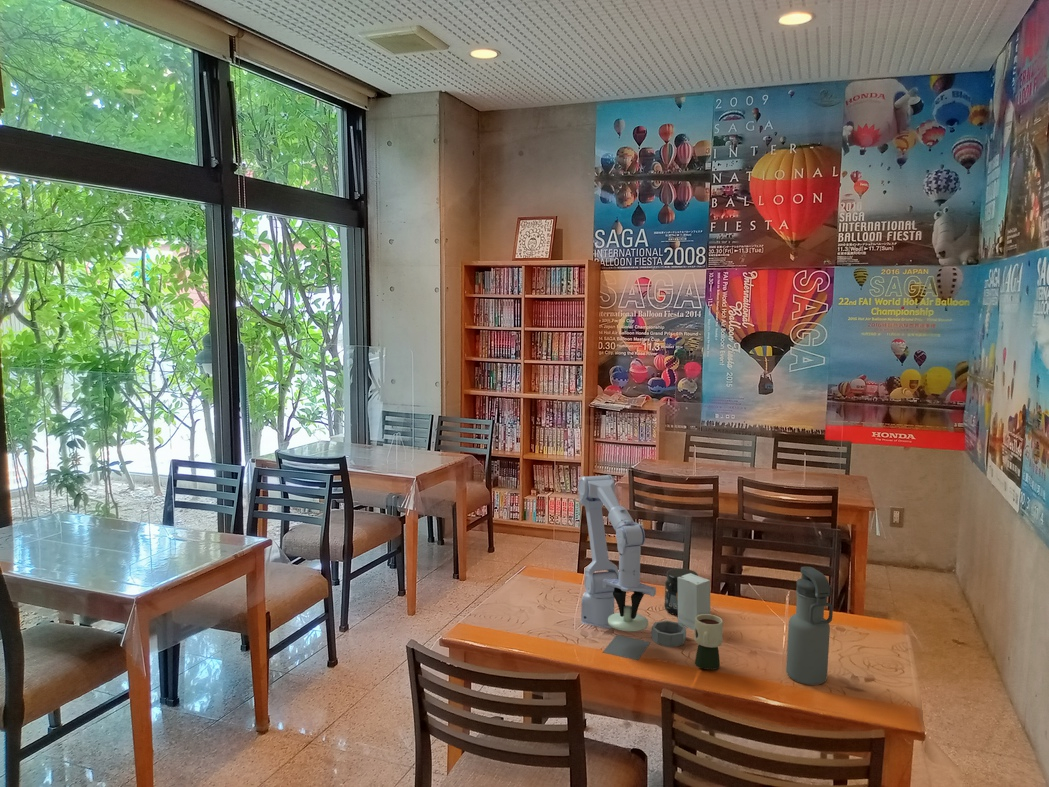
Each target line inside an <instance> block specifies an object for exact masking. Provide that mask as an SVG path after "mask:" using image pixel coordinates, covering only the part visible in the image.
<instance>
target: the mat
mask: <svg viewBox="0 0 1049 787" xmlns="http://www.w3.org/2000/svg"><path fill="white" fill-rule="evenodd" d="M650 644H651V641H647V640H643V639H639V638H633V637H630V636H624V635H620V634H616V635H615V636H614V637H613V639H612V640H611V641H610V642H609V644H608V645H607V646H606V647H605V648H604V649H603V651H602V653H604V654H608V655H612V656H616V657H622V658H626V659H628V660H629V659H630V660H635V661H639V660H640V658H641V657H642V655H643V654H644V652H646V649H647V648H648V647H649V645H650Z"/></svg>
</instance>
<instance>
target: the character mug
mask: <svg viewBox="0 0 1049 787" xmlns="http://www.w3.org/2000/svg"><path fill="white" fill-rule="evenodd" d="M723 629H724V620H723V618H721V617H720V616H718V615H714V614H711V613H710V614H701V615H697V616H696V617H695V630H694V641H695V643H697V644H698V646H697V650H696V653H695V660H694V661H695V662H694V664H695V665H696V667H697V668H699V669H704V670H717V669H719V668H720V665H721V664H720V651H719V647H721V646H722V644H723V635H724V633H723V632H724V630H723Z"/></svg>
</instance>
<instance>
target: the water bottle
mask: <svg viewBox="0 0 1049 787" xmlns="http://www.w3.org/2000/svg"><path fill="white" fill-rule="evenodd" d="M800 574H801V578H799V579H797V580H796V588H795V589H796V590H795V594H796V603H795V604H796V606H795V607H796V608H795V613H794V614H792V615H791V616H790V617H789V619H788V629H787V630H788V631H787V647H786V651H787V652H786V665H785V671H786V674H787V676H788V677H789V678H790V679H791V680H793V681H795V682H797V683H800V684H803V685H806V686H807V685H808V686H819V685H821V684H823V683H825V682H826V681H827V678H828V666H829V652H830V651H829V650H830V648H829V647H830V636H831V635H830V634H831V626H830V623H831V622H832V621H833V614H834V613H833V612H834V606H833V604H832V603H830V602H828V601H827V600H828V598H829V597H830V596H831V587H830V582H829V581H828V579H827V576H826V575H825V574H824V573H823V572H821V571H820V570H818V569H816V568H815V567H812V566H801V567H800ZM825 607H828V618H827V619H825V617H824V615H825V612H824V611H825Z"/></svg>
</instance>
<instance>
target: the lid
mask: <svg viewBox="0 0 1049 787" xmlns="http://www.w3.org/2000/svg"><path fill="white" fill-rule="evenodd" d="M631 614H632V605H630V604H629V605H627V604H625V606H624V609H623V617H621V616H620V612H614V614H612V615H610V616H609V617H608V624H609V625H610V626H611V628H612V629H615V630H618V631H624V632H640V631H643V630H645V629H647V628H648V627H649V620H648V618H647V617H646V616H644V615H642V614H639V613H637V614H636V617H635V619H632V617H631Z"/></svg>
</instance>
